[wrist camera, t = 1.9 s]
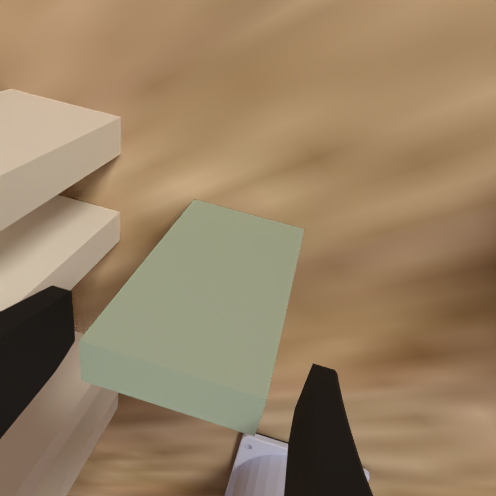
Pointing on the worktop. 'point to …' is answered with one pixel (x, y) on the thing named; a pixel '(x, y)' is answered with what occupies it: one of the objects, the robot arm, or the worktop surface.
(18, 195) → the domino
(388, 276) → the worktop surface
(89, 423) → the domino
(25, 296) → the domino
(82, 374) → the domino
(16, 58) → the worktop surface
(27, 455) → the domino
